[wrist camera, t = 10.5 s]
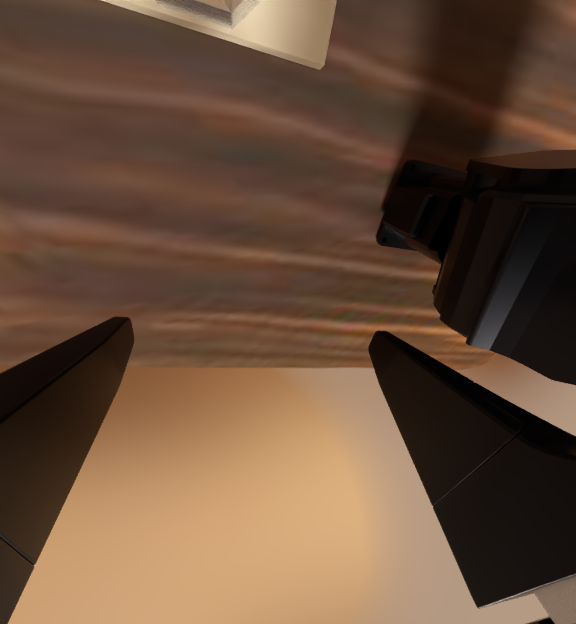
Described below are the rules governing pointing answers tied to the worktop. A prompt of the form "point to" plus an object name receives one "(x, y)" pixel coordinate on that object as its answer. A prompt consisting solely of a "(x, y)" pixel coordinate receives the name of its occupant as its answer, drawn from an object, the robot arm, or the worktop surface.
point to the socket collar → (213, 10)
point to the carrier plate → (264, 27)
